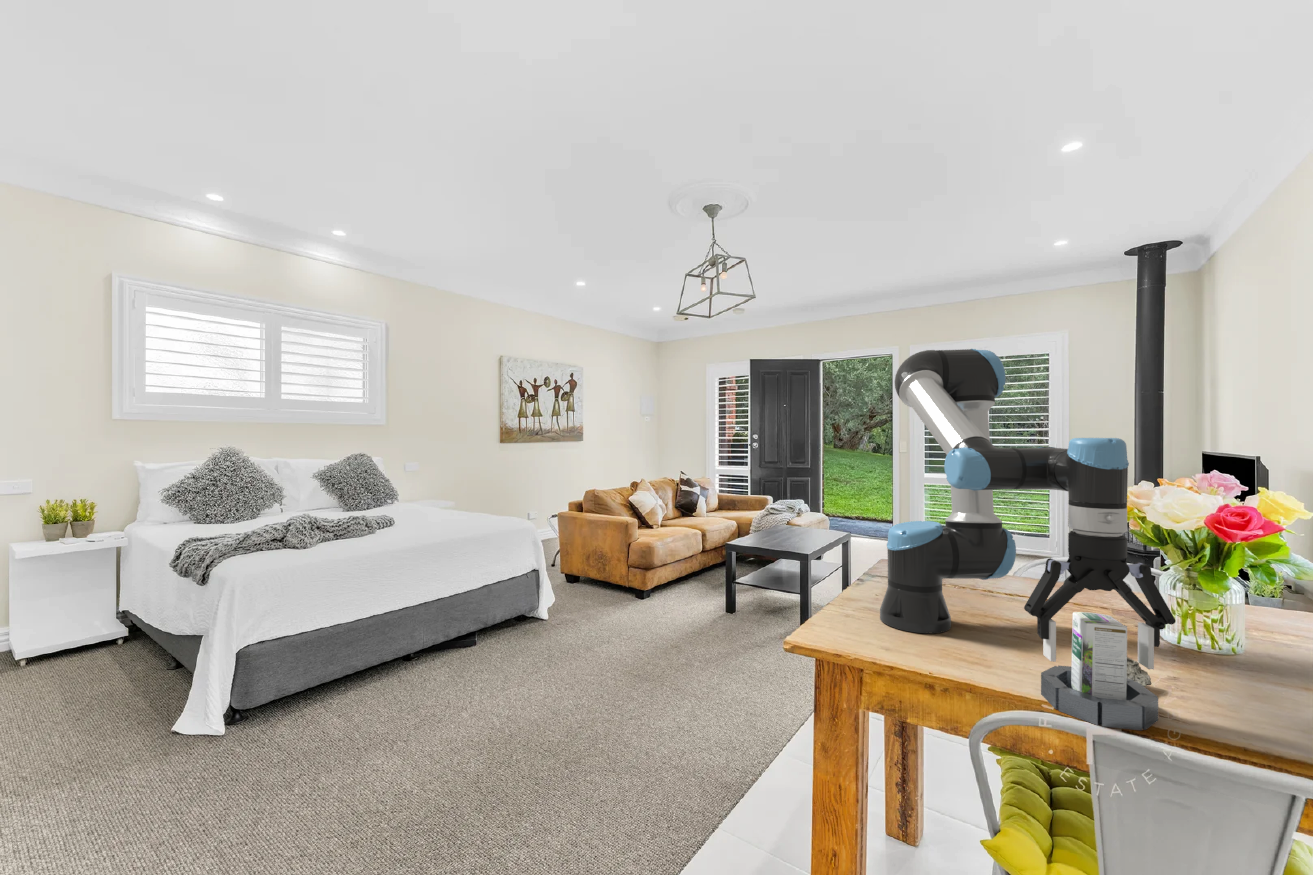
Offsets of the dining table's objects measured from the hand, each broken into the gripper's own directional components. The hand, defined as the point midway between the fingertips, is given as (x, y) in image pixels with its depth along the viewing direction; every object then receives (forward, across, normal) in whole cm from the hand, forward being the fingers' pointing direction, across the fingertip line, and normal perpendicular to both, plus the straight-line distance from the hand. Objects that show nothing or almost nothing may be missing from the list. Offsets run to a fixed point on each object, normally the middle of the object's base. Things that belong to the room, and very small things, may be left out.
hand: (1096, 662), depth 90 cm
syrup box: (+7, 0, 0) cm, 7 cm away
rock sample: (+8, +8, +8) cm, 14 cm away
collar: (+7, 0, 0) cm, 7 cm away
